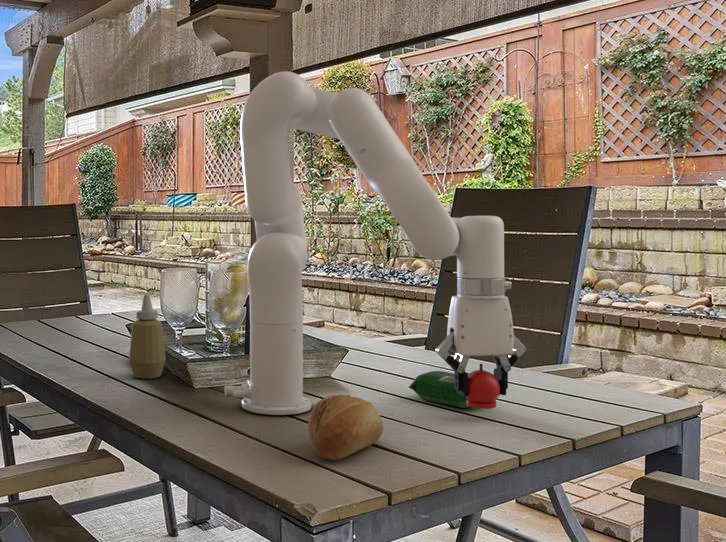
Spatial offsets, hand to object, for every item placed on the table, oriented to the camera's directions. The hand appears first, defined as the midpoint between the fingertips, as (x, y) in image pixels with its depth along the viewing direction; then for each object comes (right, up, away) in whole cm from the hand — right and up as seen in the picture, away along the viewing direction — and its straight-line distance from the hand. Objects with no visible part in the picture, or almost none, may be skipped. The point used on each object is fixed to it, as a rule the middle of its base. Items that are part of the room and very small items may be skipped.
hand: (481, 393), depth 128 cm
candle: (0, -2, 0) cm, 2 cm away
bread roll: (-27, -5, -18) cm, 33 cm away
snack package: (-1, -4, +11) cm, 12 cm away
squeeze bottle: (-59, -4, +36) cm, 70 cm away
